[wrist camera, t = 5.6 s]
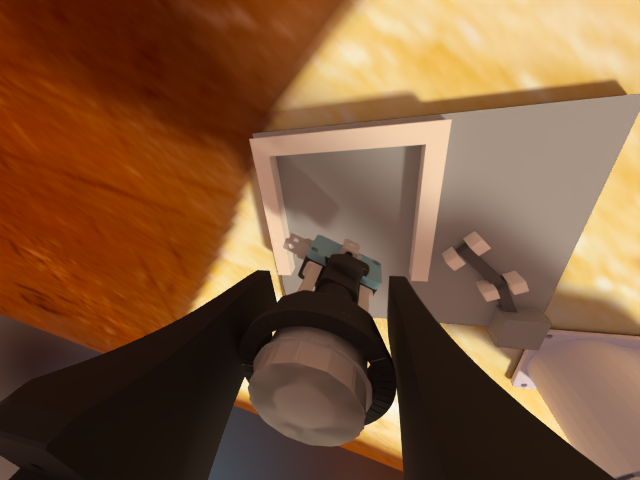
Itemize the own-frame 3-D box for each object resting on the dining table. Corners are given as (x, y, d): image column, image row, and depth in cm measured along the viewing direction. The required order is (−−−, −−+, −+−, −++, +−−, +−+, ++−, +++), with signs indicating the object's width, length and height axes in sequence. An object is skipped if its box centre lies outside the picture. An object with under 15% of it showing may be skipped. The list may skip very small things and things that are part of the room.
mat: (628, 94, 12) (648, 92, 12) (528, 321, 20) (535, 330, 19) (258, 132, 17) (252, 133, 16) (291, 304, 25) (288, 310, 24)
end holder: (445, 119, 14) (451, 119, 13) (424, 272, 19) (427, 281, 18) (257, 137, 16) (249, 139, 15) (282, 267, 21) (278, 274, 20)
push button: (281, 263, 17) (175, 394, 8) (305, 199, 15) (196, 279, 6) (362, 302, 17) (347, 484, 8) (399, 242, 14) (442, 400, 5)
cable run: (496, 220, 16) (508, 230, 14) (548, 328, 19) (563, 345, 17) (437, 247, 18) (442, 258, 16) (493, 342, 21) (502, 358, 19)
